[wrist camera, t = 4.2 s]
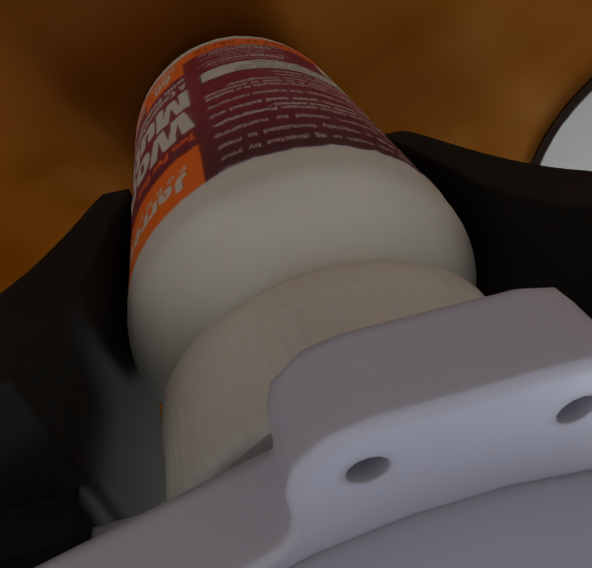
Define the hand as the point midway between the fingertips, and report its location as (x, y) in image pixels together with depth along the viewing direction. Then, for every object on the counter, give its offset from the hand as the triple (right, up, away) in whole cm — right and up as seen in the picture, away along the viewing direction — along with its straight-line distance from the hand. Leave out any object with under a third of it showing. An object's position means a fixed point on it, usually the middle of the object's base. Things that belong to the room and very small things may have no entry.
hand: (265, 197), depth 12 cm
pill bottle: (-1, +2, +3) cm, 4 cm away
